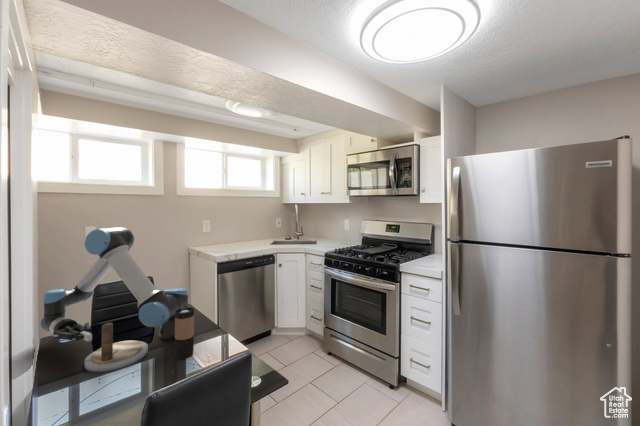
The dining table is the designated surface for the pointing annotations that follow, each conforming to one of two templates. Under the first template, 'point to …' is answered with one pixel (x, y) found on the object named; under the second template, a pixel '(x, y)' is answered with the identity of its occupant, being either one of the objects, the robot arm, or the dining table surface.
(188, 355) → the travel mug
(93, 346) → the dining table surface
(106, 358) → the dial
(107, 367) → the base
